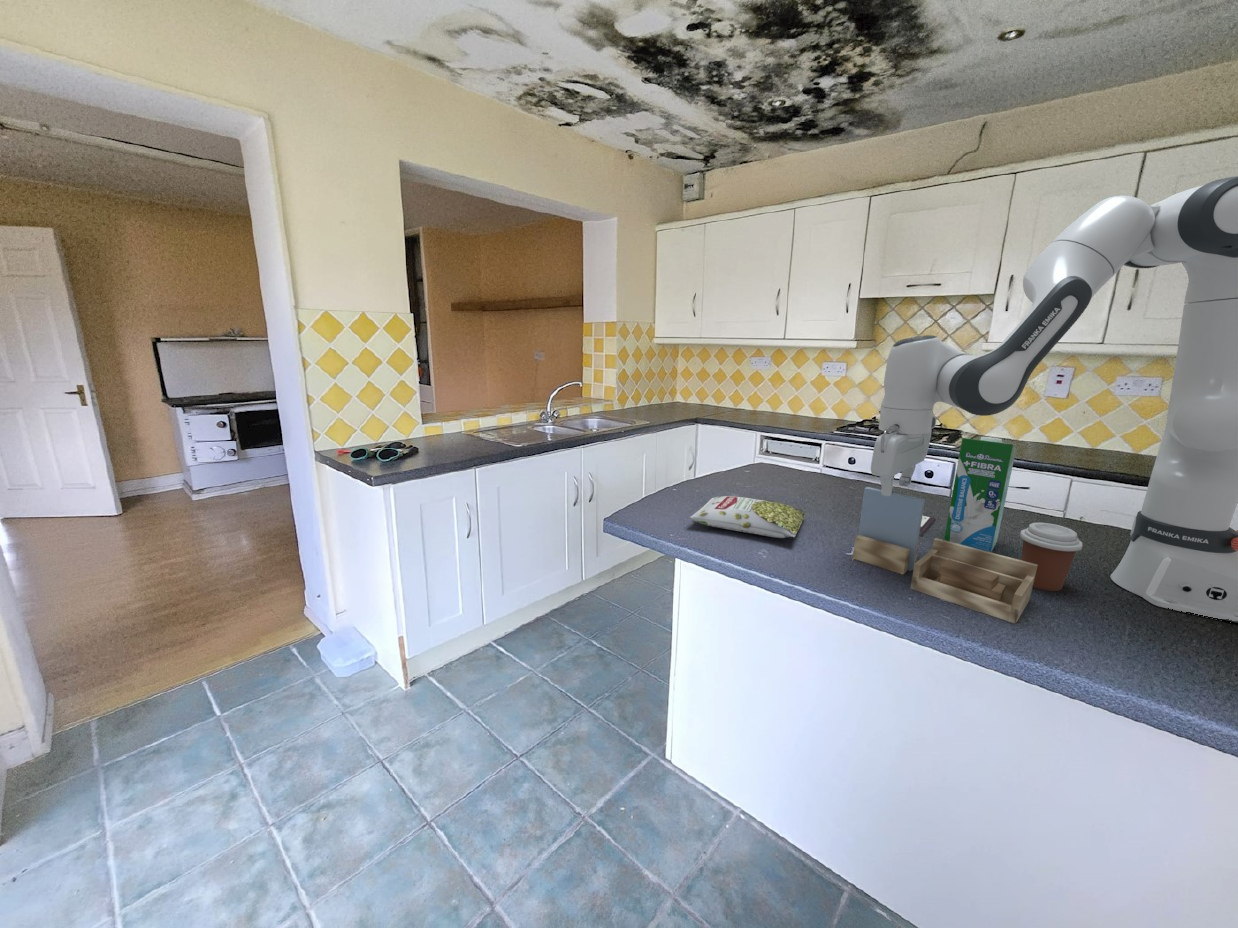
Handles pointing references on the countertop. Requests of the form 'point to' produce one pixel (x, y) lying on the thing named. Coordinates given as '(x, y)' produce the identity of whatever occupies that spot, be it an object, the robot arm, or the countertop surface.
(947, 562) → the offcut
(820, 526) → the countertop surface
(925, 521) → the chocolate bar
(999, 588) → the offcut
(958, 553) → the rack
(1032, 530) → the coffee cup
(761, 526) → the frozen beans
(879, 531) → the sheet
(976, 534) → the milk carton
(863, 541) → the stand
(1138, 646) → the countertop surface
